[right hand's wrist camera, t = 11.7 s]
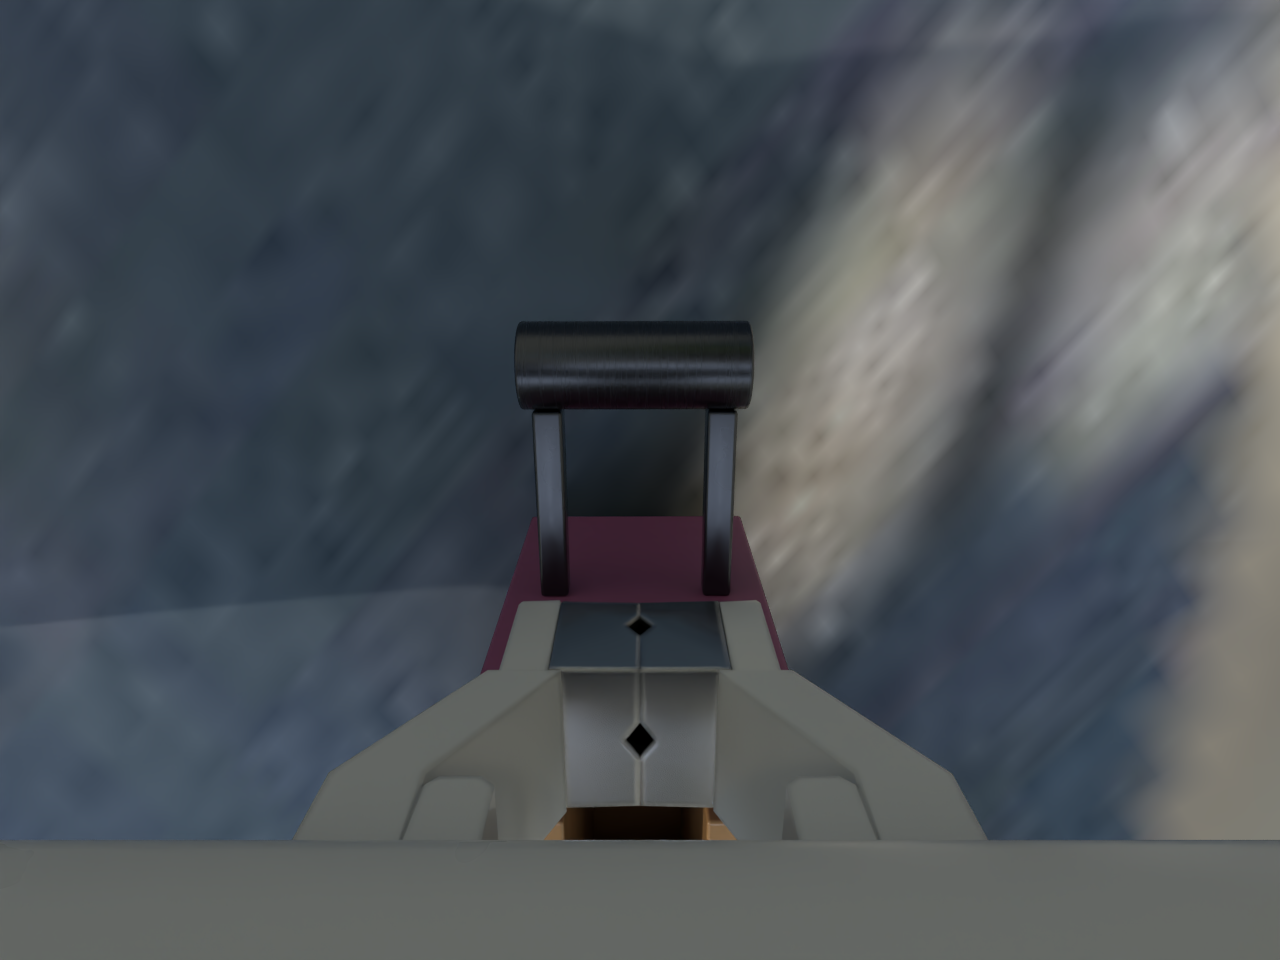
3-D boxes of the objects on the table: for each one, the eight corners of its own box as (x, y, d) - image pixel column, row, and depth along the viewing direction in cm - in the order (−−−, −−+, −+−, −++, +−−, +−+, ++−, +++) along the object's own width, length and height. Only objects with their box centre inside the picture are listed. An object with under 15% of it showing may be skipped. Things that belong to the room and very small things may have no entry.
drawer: (520, 295, 19) (432, 368, 11) (750, 294, 19) (832, 366, 11) (554, 935, 26) (517, 1262, 18) (721, 934, 26) (758, 1261, 18)
